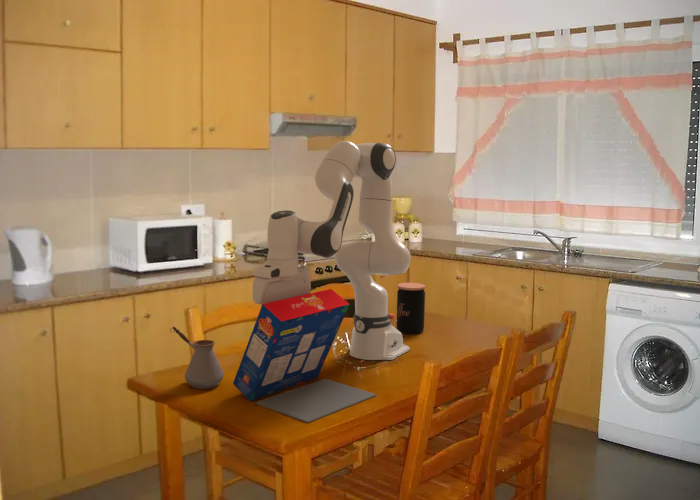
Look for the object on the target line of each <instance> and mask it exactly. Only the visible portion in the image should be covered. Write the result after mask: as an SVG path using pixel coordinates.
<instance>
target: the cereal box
mask: <svg viewBox="0 0 700 500" xmlns="http://www.w3.org/2000/svg"><path fill="white" fill-rule="evenodd" d="M349 306H350V303H349V302H348V301H346V300H345V299H344V298H343V297H341V296H340V294H338V293H337V292H336V291H334V290H333V289H332V288H330V289H324V290H320V291H316V292H312V293H311V292H310V294H306V295H301V296H297V297H292V298H288V299H283V300H279V301H274V302H270V303H265V304H262V305H261V306H260V307H261V308H260V309H259V312H258V315H257V317H256V320H255V324H254V326H253V328H252V332H251V334H250V336H249V340H248V342H247V345H246V348H245V350H244V353H243V355H242V358H241V361H240V364H239V366H238V369H237V371H236V375H235V377H234V379H233V382H232V385H234V387H236V389H237V390H238V391H239V392H240V393H241V394H242V395H243V396H244V397H245V398H246V399H247V400H248V401H249V402H253V401H256V400H259V399H261V398H264V397H267V396H270V395H272V394H276V393H278V392H280V391H284V390H287V389H289V388H293V387H295V386H298V385H300V384H303V383H306V382H309V381H312V380H315V379H317V378H319V376H320V373H321V371H322V369H323V366H324V364H325V361H326V360H327V357H328V355H329V354H330V350H331V348H332V347H333V346H332V345H333V343H334V341H335V339H336V336H337V334H338V332H339V330H340V328H341V325H342V323H343V320H344V318H345V316H346V313H347V311H348V309H349Z"/></svg>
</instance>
